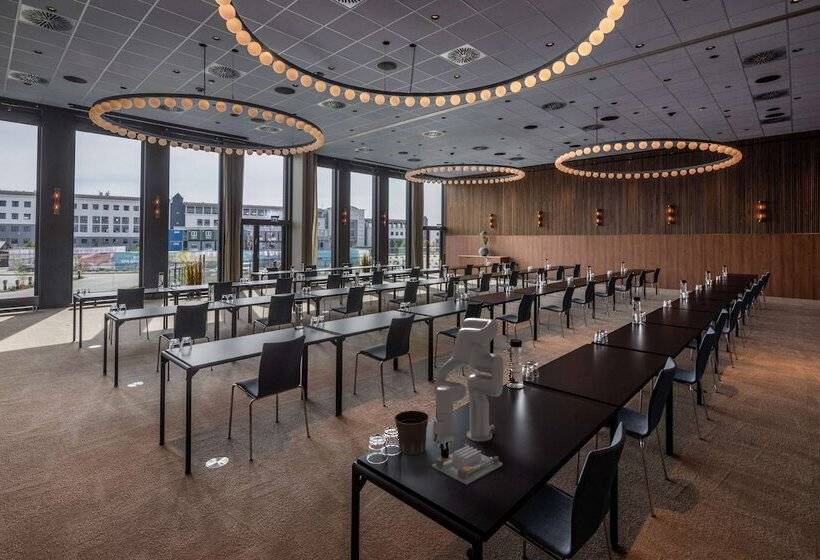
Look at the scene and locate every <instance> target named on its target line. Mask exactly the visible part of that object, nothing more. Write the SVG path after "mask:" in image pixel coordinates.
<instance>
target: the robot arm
mask: <svg viewBox="0 0 820 560" xmlns="http://www.w3.org/2000/svg"><path fill="white" fill-rule="evenodd" d="M498 330H499V324H498V322H497V321H496V319H491V318H480V317H479V318H478V317H466V318H465V319H464V320H463V322H462V327H461V328H459V330H458V332H457V334H456V338H455V342H454V345H453V350H452V354H451V357H450V358H449V359H448V360H447V361H446V362H445V363H444V364H443V365H442V366H441V367H440V368H439V370H438V372H437V374H436V378H435V382H434V388H433V391H434V394H435V418H434V421H433V426H432V427H433V428H432V441H433V442H434V446H435V447H436V448H440V456H442V457H444V458H448V457H449V455H450V451H449V450H450V448H451V444H452V442H453V441H455V438H456V435H457V433H456V422H455V417H454V413H455V411H454V402H458V401H462V400H463V399H465V397H466V395H467V391H468V398H469V399H468V400H469V401H468V402H469V403H468V404H469V406H468V407H469V430H468V431H467V432H466V437H467V439H469V440H471V441H474V442H479V443H481V442H488V441H491V439H492V438H493V434H492V432H491V430H493V429H495V425H494V424H491V425H490V411H489V409H490V404H489V399H488V397H487V396H489V397H494V398H495V397H500V396H501V394H502V392H503V388H504V360H503V358H502V356H501V355H500V354H498V353H491V352H490V351H489V347H490V346H489V343H491V341H492V340H494V338H495V337H496V336H497V334H498ZM469 364H470V367H471V369H472V370H473V371H475V372H479V373H471V374H470V375H469V376H468V377H467V379H466V386H467V388H466V386H465V385H464V384H463V383H461V382H455V381H449V380H446V379H447V377H448V375H449V374H450V373H451V372H452V371H454V370H456V369H459V368H461V367H464V366H467V365H469ZM481 373H485V374H481ZM489 374H491V375H489Z"/></svg>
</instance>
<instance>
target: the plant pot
mask: <svg viewBox="0 0 820 560" xmlns="http://www.w3.org/2000/svg"><path fill="white" fill-rule="evenodd" d="M429 419H430V416H429V414H428V413H426V412H424V411H421V410H405V411H401V412H399V413H397V414H395V415H394V422H395V426H396V430H398V431H397V436H398V435H399V439H398V444H399V443H400V447H399V449H400V448H401V452H400V453H401V454H403V455H405V456H413V455H414V456H418V455H422V454H423V453H425V452H426V450H427V449H426V448H427V447H426V445H427V431H428V430H427V429H428V424H429V423H428V422H429Z"/></svg>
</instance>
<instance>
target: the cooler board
mask: <svg viewBox="0 0 820 560" xmlns="http://www.w3.org/2000/svg"><path fill="white" fill-rule="evenodd" d="M452 454H453V458H452V459H451V460H449V461H446V462H443V460H442V459H440V458H439V457H437V458H435V463H433V464H431V468H434V469H435V470H437V471H438V472H441V473H443V474H445V475H446V476H449V477H451V478H452V479H455V480H456V481H458V482H460V483H462V484H465V485H469V484H471V483H473V482H475V481H476V480H478V479H480V478H482V477H484V476H486V475H487V474H489V473H491V472H493V471H495V470H496V469H498V468H500V467H502V466H503V462H501V461H499V456H497V455H496V456H492V457H493V459H494V461H493V462H491V463H489V464H487V465H485V466H483V467H481V468H479V469H477V470H475V471H473V472H471V473H469V474H467V475H466V471H465V470H463V469H461V468H463V467H465V466H467V465H469V466H472V465H474V464H477V463H479V462H481V461H483V460H485V459H487V458H489V457H490V456H487V455H484V454H482V450H481V449H480V450H478V448H474V447H473V446H471V447H470V445H469V443H464V444H463V447H462V448H460V449H458V450H457V449H456V450H455V451H453V452H452Z"/></svg>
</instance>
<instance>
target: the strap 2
mask: <svg viewBox="0 0 820 560" xmlns="http://www.w3.org/2000/svg"><path fill="white" fill-rule="evenodd" d="M488 457H489V458H487V459H485V460H483V461H481V462H479V463H477V464H474V465H472V466H469V465H467V466H465V467H463V468H461V469H463V470H465V471H466V475H467V474H469V473H471V472H473V471H475V470H477V469H479V468H481V467H483V466H485V465H487V464H489V463H491V462H493V461H494V459H493V457H494V456H488Z"/></svg>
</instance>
